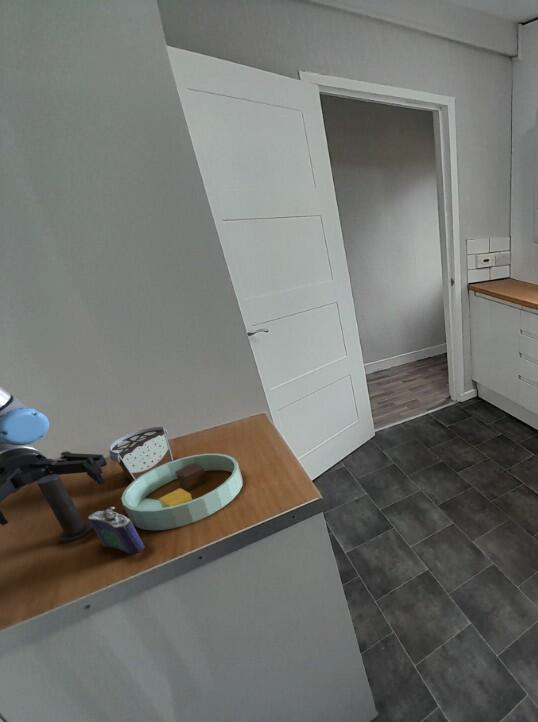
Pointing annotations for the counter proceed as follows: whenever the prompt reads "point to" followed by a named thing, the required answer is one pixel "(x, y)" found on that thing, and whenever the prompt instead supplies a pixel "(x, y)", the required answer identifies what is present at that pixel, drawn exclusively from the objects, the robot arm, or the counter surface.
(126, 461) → the food container
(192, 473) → the walnut block
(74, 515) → the dark cylinder with base
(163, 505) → the mustard block
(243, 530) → the counter surface
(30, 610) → the counter surface
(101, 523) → the flask
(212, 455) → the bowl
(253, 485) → the counter surface
